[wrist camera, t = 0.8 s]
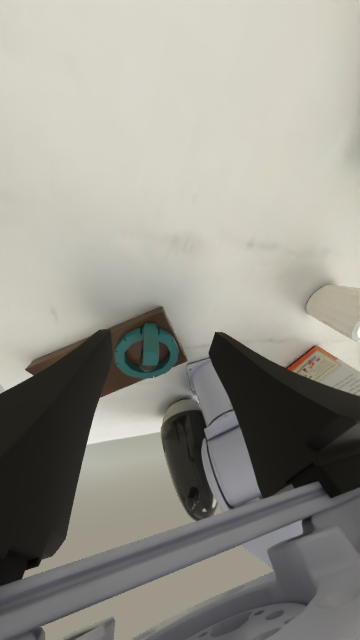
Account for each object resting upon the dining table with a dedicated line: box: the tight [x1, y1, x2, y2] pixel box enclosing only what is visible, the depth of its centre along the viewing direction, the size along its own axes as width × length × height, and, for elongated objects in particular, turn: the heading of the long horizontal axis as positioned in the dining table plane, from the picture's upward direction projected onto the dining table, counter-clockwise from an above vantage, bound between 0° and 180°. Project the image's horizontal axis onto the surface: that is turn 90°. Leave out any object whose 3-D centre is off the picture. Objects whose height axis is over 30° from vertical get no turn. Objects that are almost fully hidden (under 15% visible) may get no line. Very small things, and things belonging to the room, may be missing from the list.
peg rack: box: [25, 307, 187, 397], centre depth 18 cm, size 19×10×7 cm, turn 110°
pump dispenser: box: [161, 400, 218, 521], centre depth 25 cm, size 10×10×15 cm
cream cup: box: [306, 285, 360, 341], centre depth 21 cm, size 7×7×7 cm
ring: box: [115, 323, 179, 378], centre depth 18 cm, size 9×8×6 cm
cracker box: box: [287, 346, 360, 396], centre depth 24 cm, size 14×6×21 cm, turn 141°
